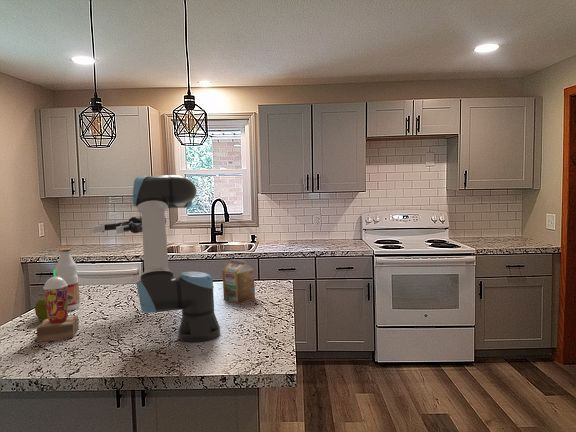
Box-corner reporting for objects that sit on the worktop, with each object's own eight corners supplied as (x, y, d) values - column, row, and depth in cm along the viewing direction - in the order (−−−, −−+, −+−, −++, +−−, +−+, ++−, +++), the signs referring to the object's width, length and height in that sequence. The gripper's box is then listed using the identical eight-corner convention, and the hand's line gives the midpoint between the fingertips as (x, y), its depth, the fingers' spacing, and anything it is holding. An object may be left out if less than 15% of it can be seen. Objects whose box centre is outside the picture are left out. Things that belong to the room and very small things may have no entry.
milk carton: (255, 298, 214) (253, 259, 212) (238, 303, 206) (236, 262, 205) (240, 295, 221) (239, 257, 219) (223, 299, 213) (222, 260, 212)
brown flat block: (73, 337, 167) (72, 324, 166) (37, 342, 163) (36, 328, 163) (78, 327, 178) (77, 315, 178) (45, 331, 175) (44, 318, 174)
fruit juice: (84, 306, 209) (80, 247, 207) (66, 312, 201) (61, 250, 199) (71, 304, 214) (67, 246, 211) (53, 310, 205) (48, 249, 203)
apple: (43, 325, 183) (41, 299, 182) (30, 322, 188) (28, 296, 187) (66, 318, 191) (64, 293, 190) (54, 315, 196) (52, 291, 195)
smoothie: (52, 318, 174) (48, 267, 173) (74, 317, 175) (70, 266, 173) (41, 325, 166) (37, 272, 164) (64, 324, 166) (60, 271, 165)
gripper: (162, 232, 201) (128, 239, 182) (119, 232, 211) (82, 238, 191) (161, 216, 200) (127, 221, 181) (118, 216, 210) (81, 220, 191)
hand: (104, 230), depth 186 cm, fingers open, 13 cm apart
